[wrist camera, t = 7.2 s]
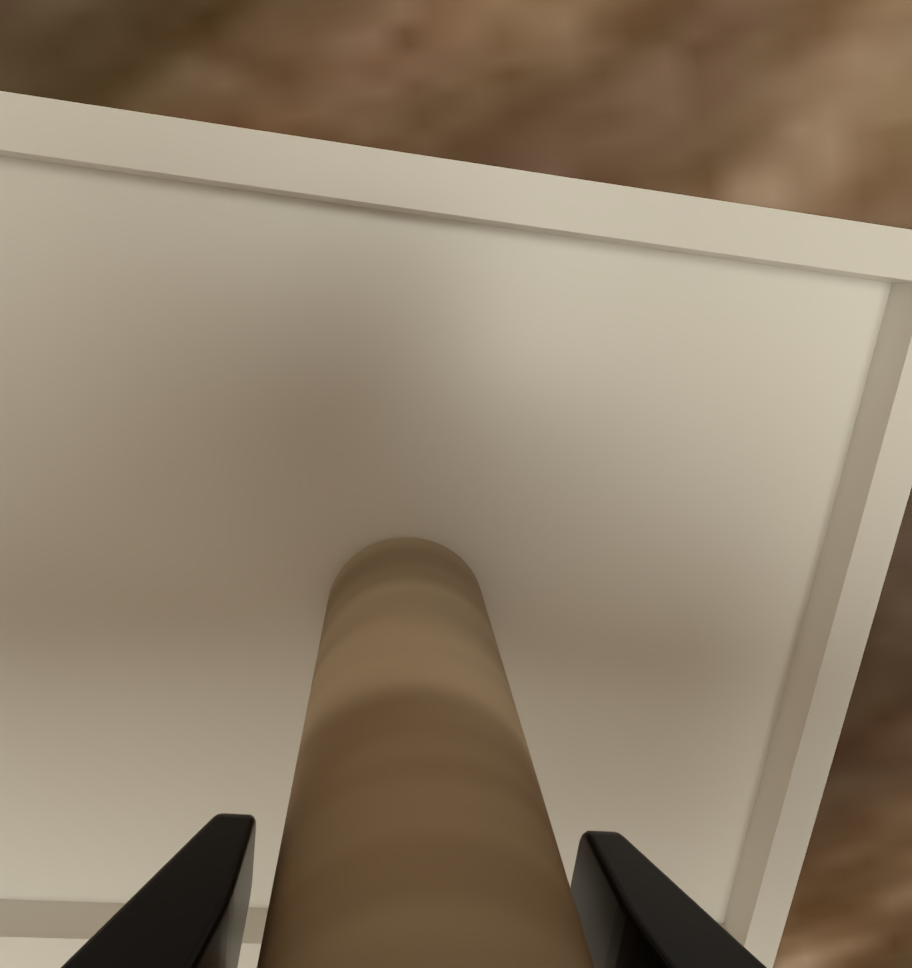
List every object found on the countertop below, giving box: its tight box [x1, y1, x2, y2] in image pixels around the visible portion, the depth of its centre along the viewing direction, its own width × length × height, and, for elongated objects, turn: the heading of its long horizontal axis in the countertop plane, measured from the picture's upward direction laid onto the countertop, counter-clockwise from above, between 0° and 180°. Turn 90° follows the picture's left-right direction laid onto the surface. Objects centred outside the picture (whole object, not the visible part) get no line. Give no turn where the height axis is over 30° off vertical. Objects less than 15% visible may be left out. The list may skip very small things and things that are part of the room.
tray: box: [0, 91, 912, 968], centre depth 14 cm, size 16×18×2 cm
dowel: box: [257, 537, 594, 968], centre depth 9 cm, size 3×3×11 cm
